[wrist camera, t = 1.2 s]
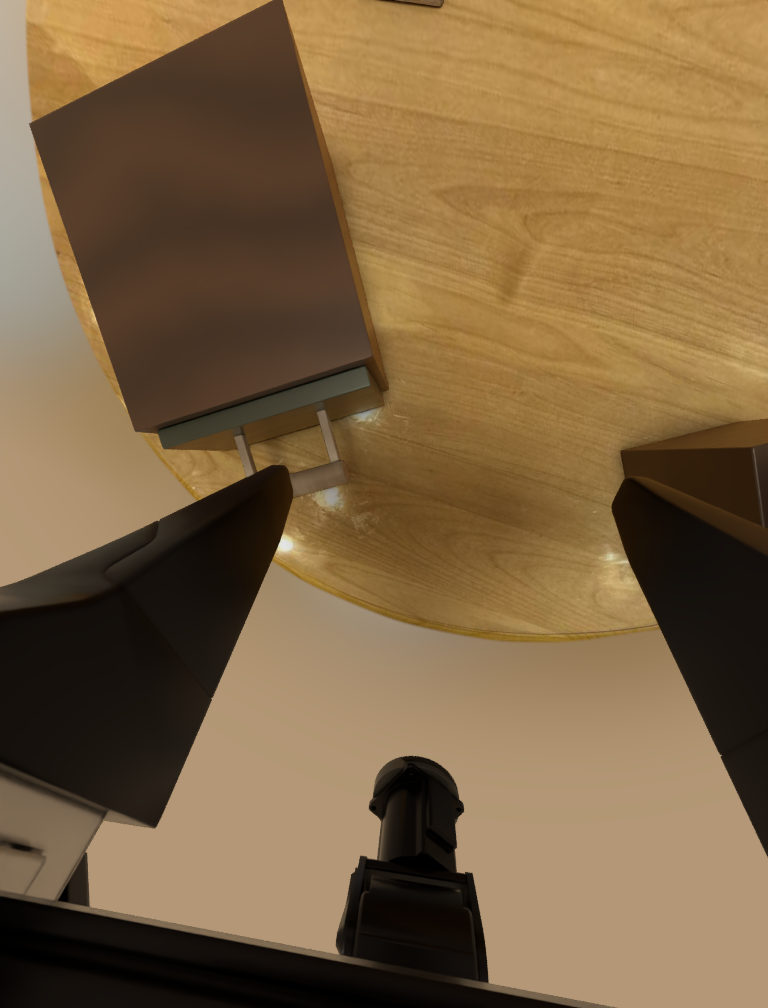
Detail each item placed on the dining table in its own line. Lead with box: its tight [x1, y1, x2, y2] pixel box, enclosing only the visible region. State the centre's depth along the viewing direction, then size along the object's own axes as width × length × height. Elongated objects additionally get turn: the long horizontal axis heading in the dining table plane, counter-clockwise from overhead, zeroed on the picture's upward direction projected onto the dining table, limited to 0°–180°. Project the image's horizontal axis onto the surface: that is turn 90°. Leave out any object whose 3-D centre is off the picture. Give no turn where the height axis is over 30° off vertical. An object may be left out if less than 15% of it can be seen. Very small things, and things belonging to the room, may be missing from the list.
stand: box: [621, 419, 768, 529], centre depth 20 cm, size 10×8×10 cm
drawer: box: [157, 365, 384, 498], centre depth 22 cm, size 21×14×7 cm, turn 15°
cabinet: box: [29, 0, 389, 434], centre depth 22 cm, size 17×15×9 cm
